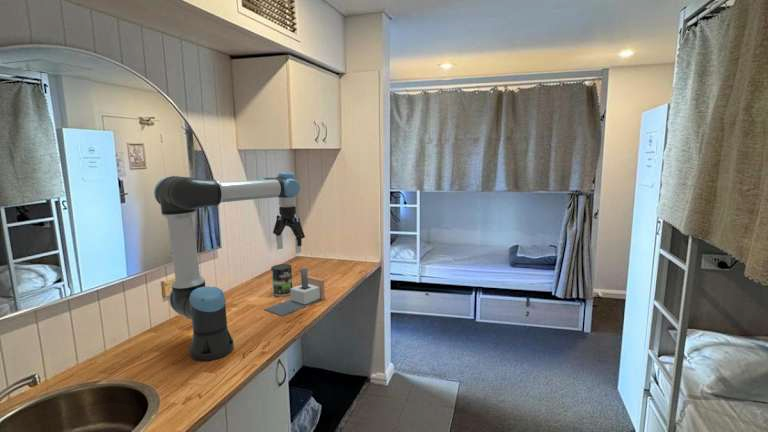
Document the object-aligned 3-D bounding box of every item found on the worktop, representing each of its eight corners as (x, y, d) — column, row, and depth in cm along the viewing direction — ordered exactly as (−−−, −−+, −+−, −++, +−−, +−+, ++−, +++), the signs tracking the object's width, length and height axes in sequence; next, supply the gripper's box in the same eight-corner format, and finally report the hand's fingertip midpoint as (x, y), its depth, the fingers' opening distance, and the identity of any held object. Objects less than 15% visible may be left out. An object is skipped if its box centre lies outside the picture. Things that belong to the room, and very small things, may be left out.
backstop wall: (321, 300, 203) (320, 280, 201) (304, 294, 211) (303, 276, 209) (324, 299, 204) (323, 279, 203) (307, 293, 212) (306, 275, 211)
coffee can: (296, 292, 214) (295, 266, 212) (278, 297, 208) (276, 270, 205) (287, 288, 222) (285, 262, 220) (269, 292, 215) (267, 266, 213)
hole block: (304, 304, 195) (303, 292, 194) (291, 300, 202) (290, 288, 201) (320, 298, 203) (319, 286, 202) (306, 294, 209) (306, 283, 208)
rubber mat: (281, 316, 184) (281, 315, 184) (264, 309, 192) (264, 309, 192) (324, 299, 204) (324, 298, 204) (307, 293, 212) (307, 293, 212)
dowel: (305, 298, 200) (303, 270, 197) (301, 296, 202) (299, 269, 199) (310, 296, 202) (308, 268, 200) (306, 294, 204) (304, 267, 202)
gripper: (311, 207, 185) (313, 253, 188) (277, 203, 201) (279, 246, 204) (298, 208, 179) (300, 256, 182) (264, 204, 195) (266, 248, 198)
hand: (289, 250), depth 193 cm, fingers open, 13 cm apart
